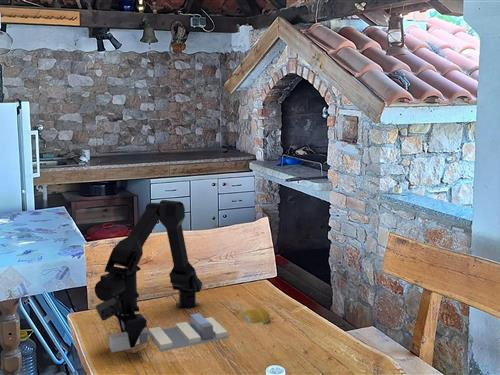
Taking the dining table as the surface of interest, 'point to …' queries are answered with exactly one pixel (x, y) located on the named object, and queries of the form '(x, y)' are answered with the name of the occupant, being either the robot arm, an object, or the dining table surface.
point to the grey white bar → (125, 341)
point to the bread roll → (256, 316)
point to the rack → (183, 335)
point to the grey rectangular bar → (201, 326)
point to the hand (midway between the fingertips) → (128, 341)
